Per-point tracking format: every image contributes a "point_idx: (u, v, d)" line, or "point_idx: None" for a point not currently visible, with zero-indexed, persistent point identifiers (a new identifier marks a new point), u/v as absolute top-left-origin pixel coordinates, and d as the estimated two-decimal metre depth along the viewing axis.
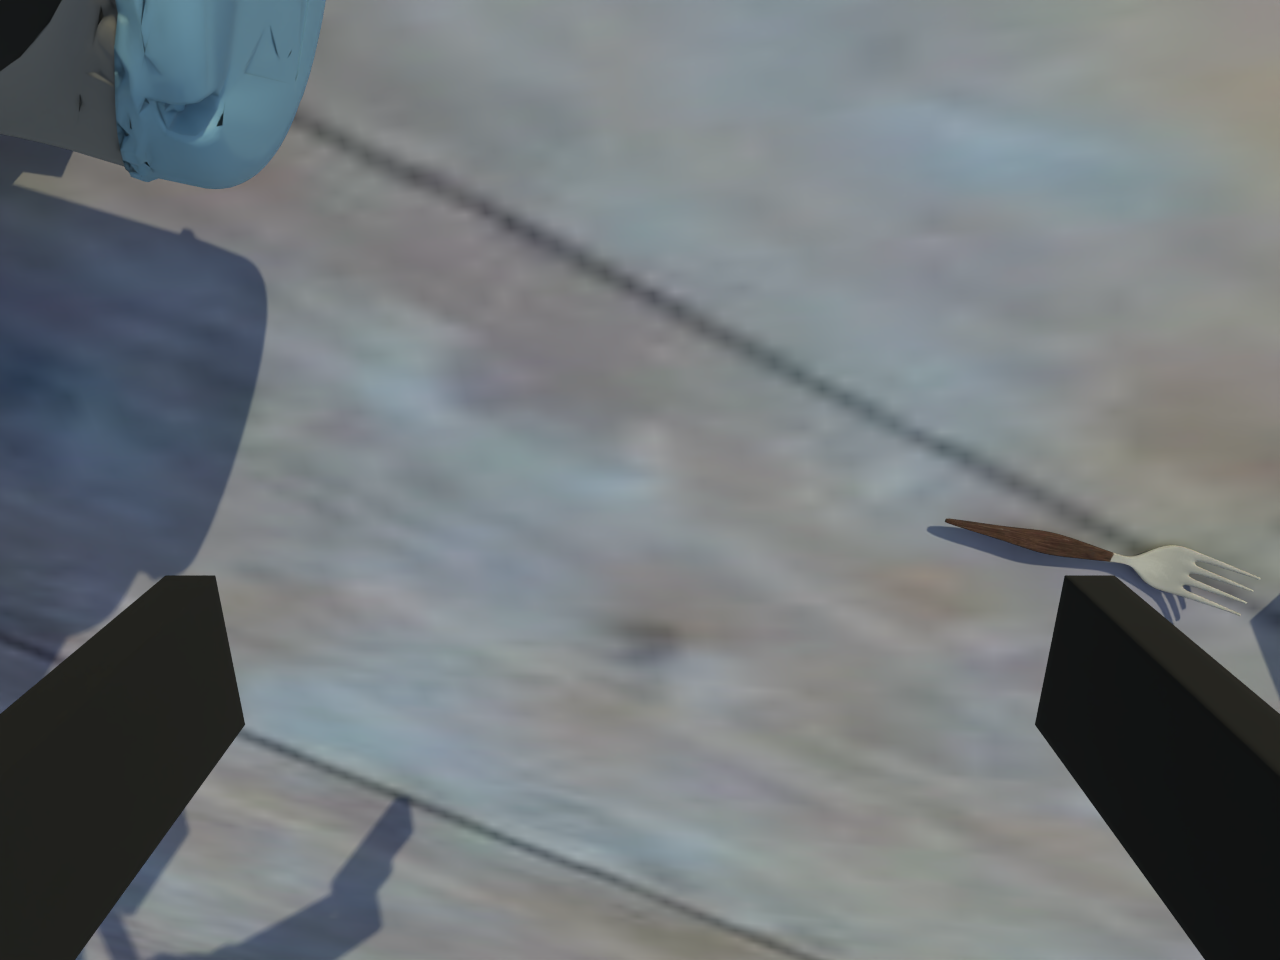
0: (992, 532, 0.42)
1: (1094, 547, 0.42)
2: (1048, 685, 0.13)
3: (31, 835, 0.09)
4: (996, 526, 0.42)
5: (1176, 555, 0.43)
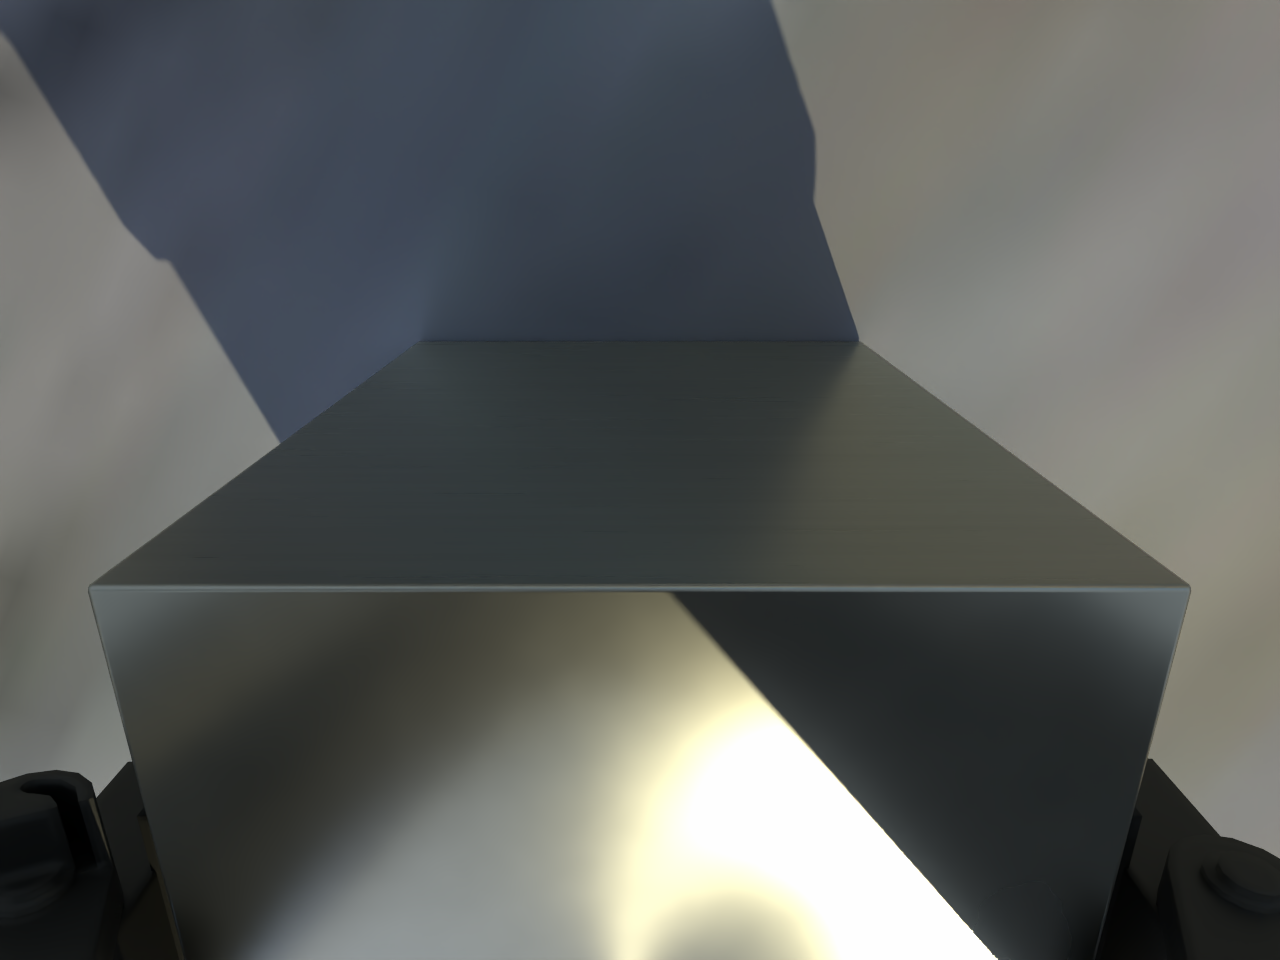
0: None
1: None
2: None
3: None
4: None
5: None
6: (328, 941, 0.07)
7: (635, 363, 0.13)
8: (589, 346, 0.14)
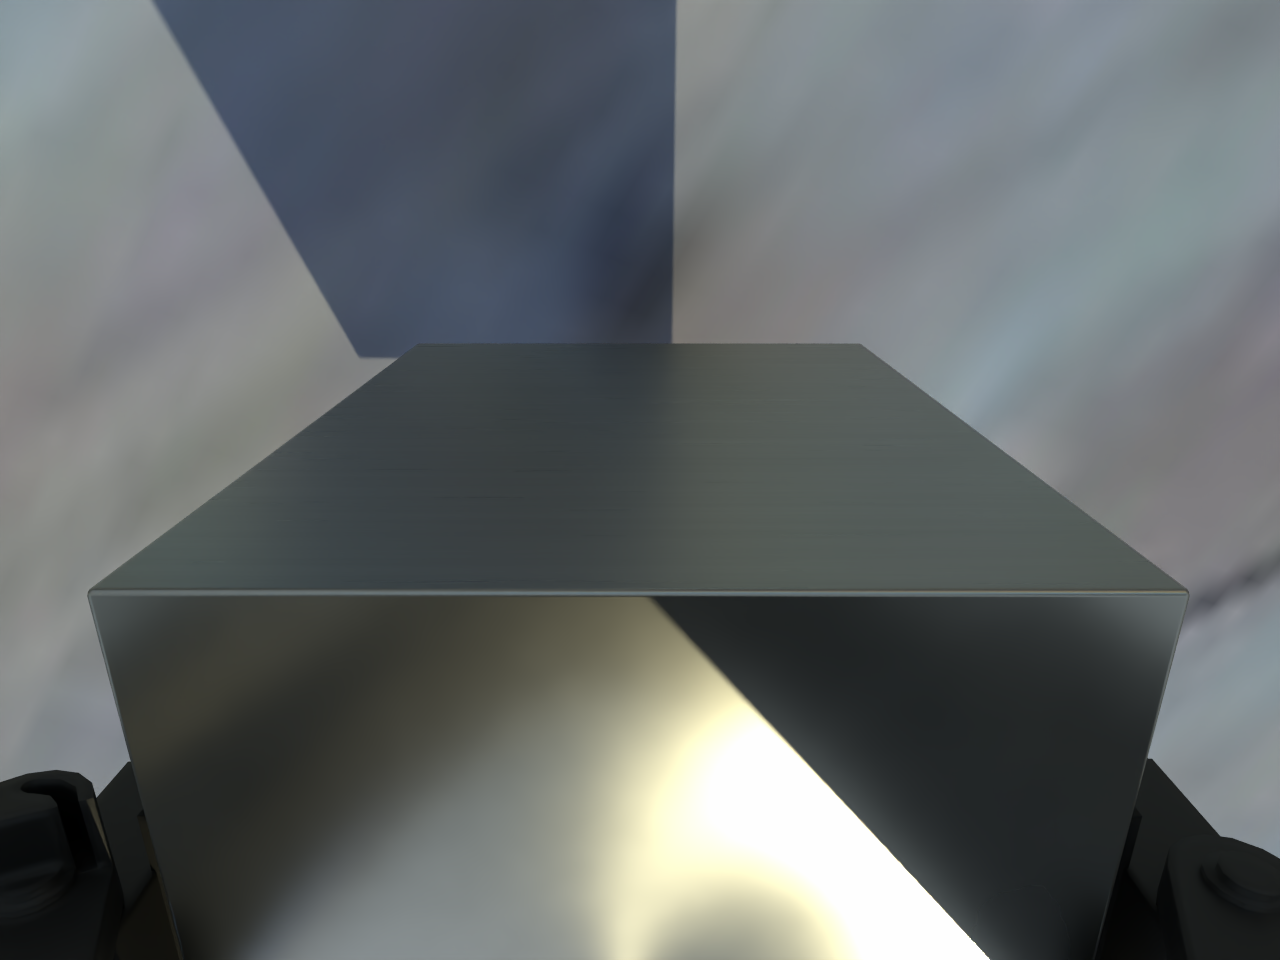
0: None
1: None
2: None
3: None
4: None
5: None
6: (327, 945, 0.07)
7: (634, 365, 0.13)
8: (589, 348, 0.14)
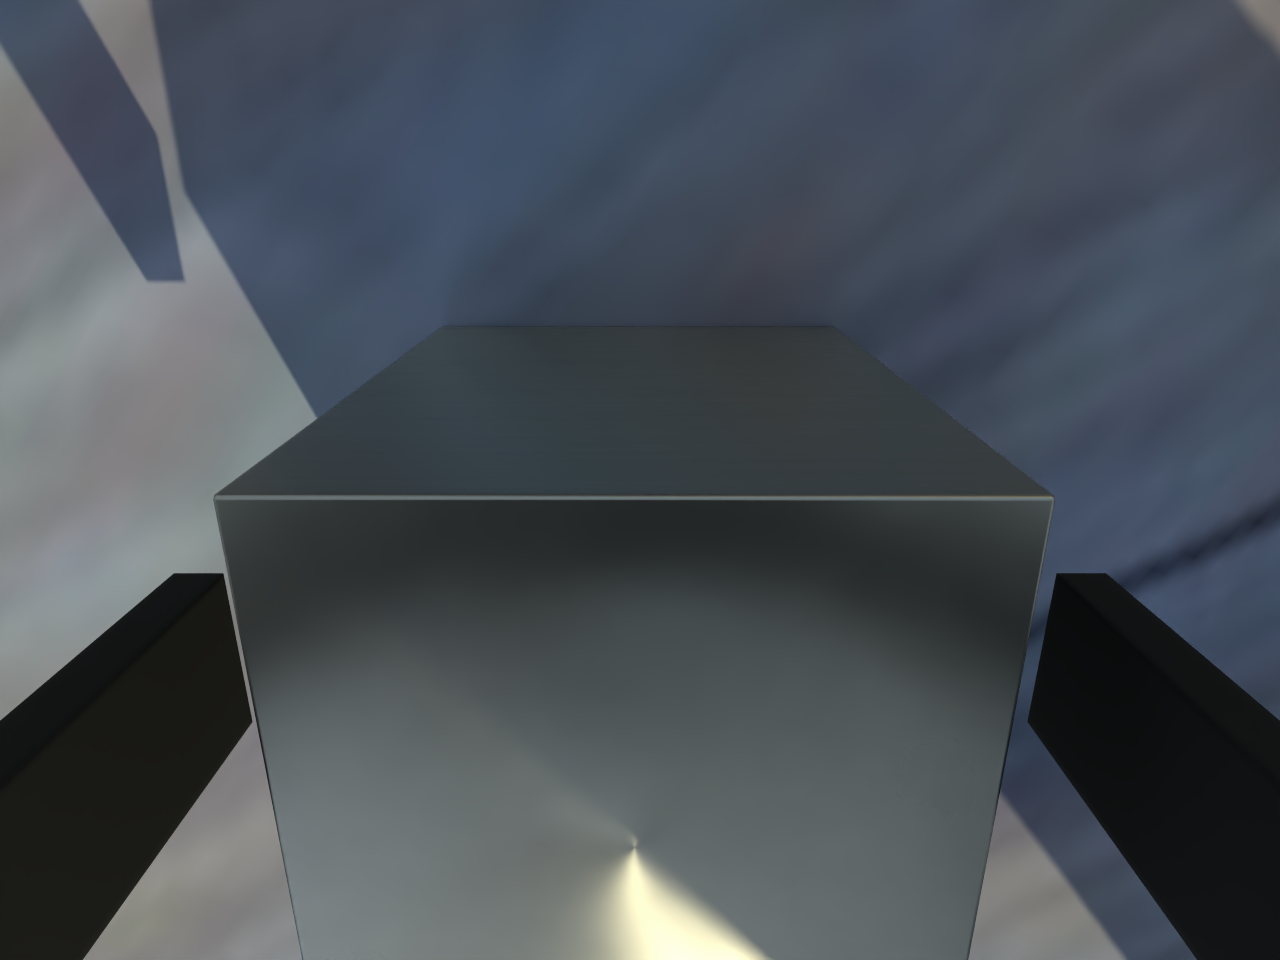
0: None
1: None
2: (1040, 683, 0.13)
3: (44, 830, 0.09)
4: None
5: None
6: (387, 789, 0.09)
7: (633, 344, 0.15)
8: (593, 330, 0.16)
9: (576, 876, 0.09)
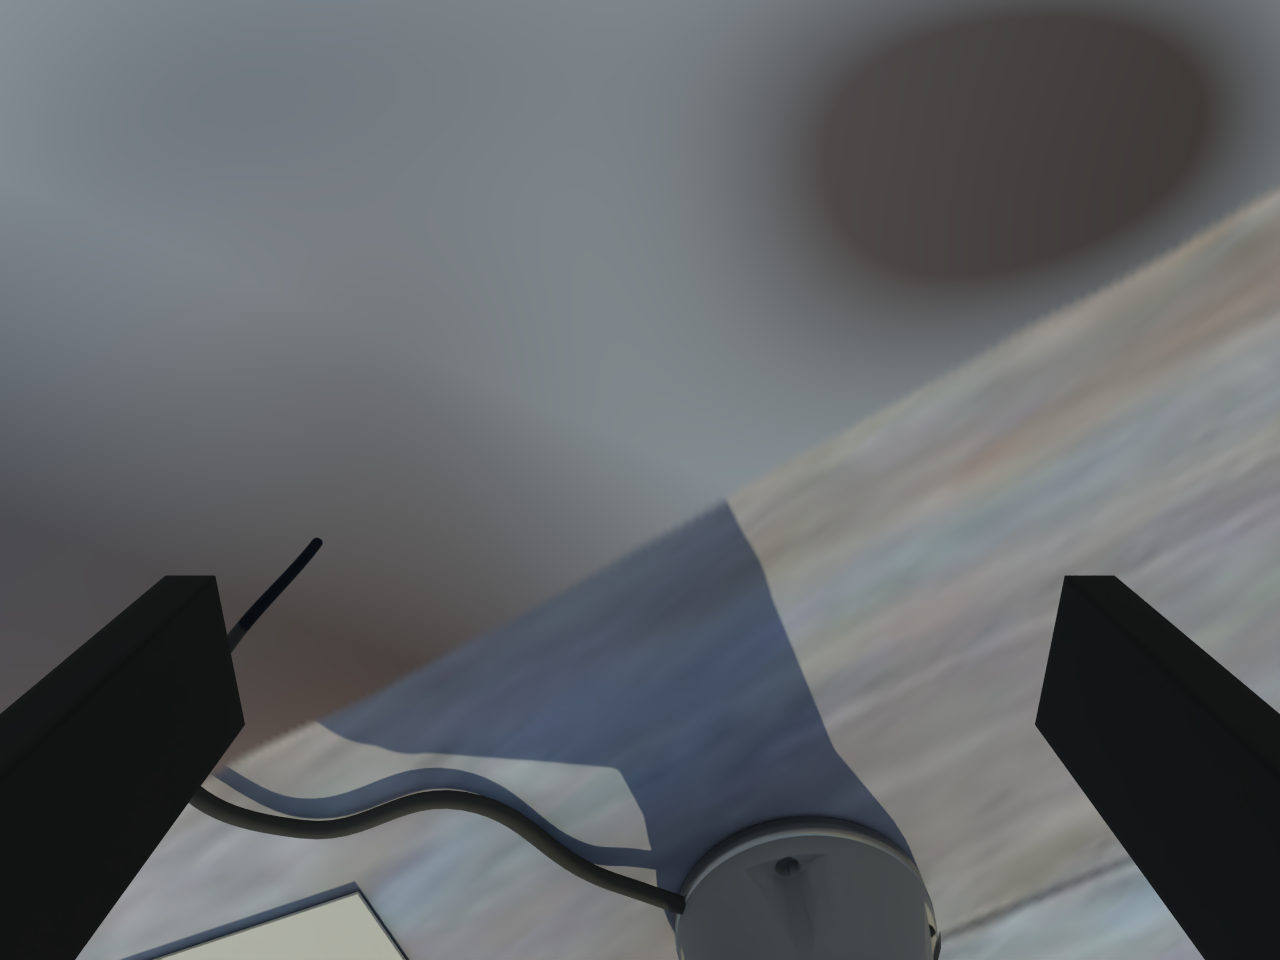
0: None
1: None
2: (1048, 685, 0.13)
3: (31, 835, 0.09)
4: None
5: None
6: None
7: None
8: None
9: None
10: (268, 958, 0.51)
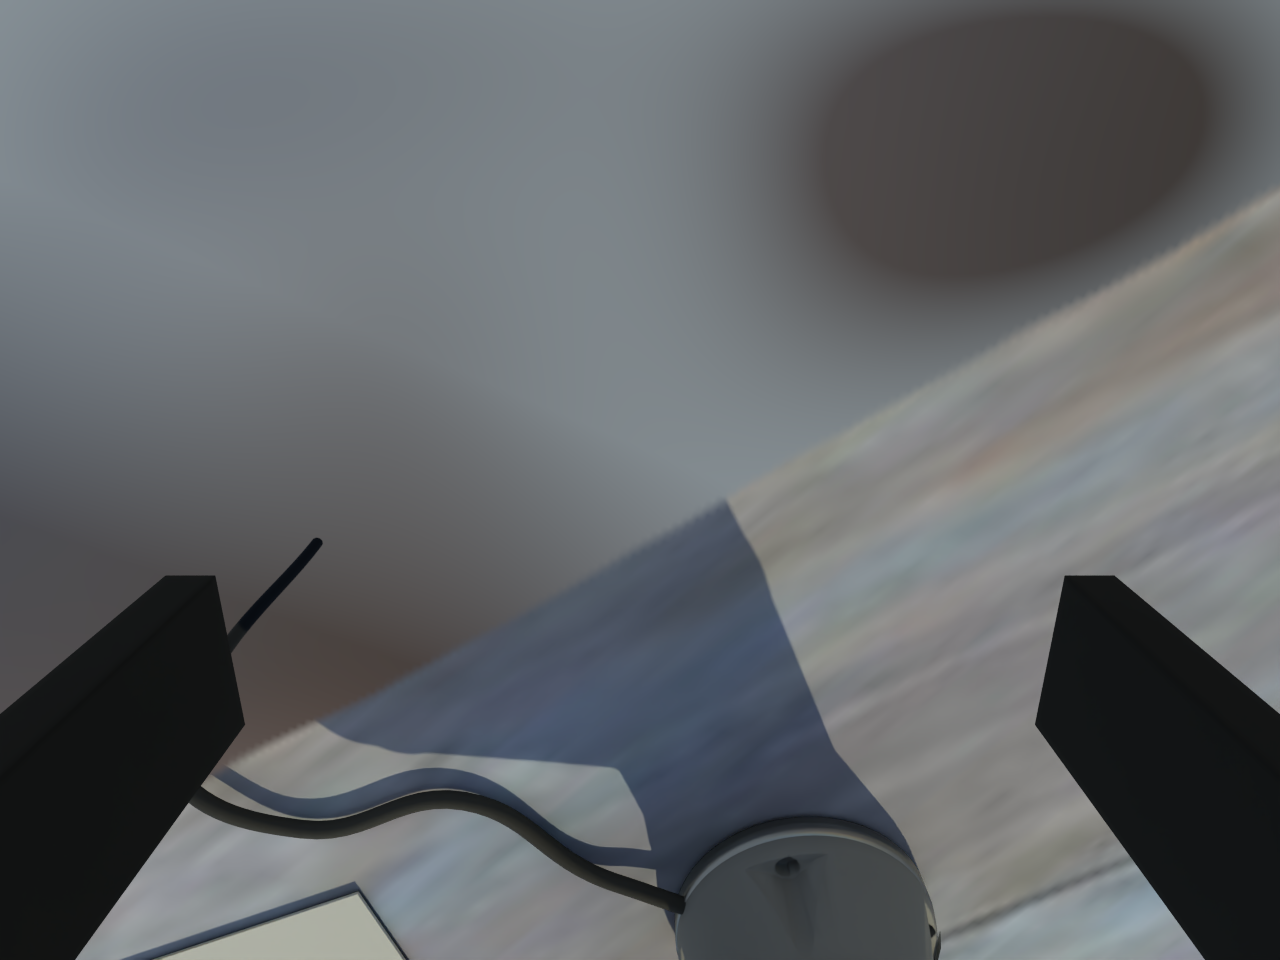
0: None
1: None
2: (1048, 685, 0.13)
3: (31, 835, 0.09)
4: None
5: None
6: None
7: None
8: None
9: None
10: (268, 958, 0.51)
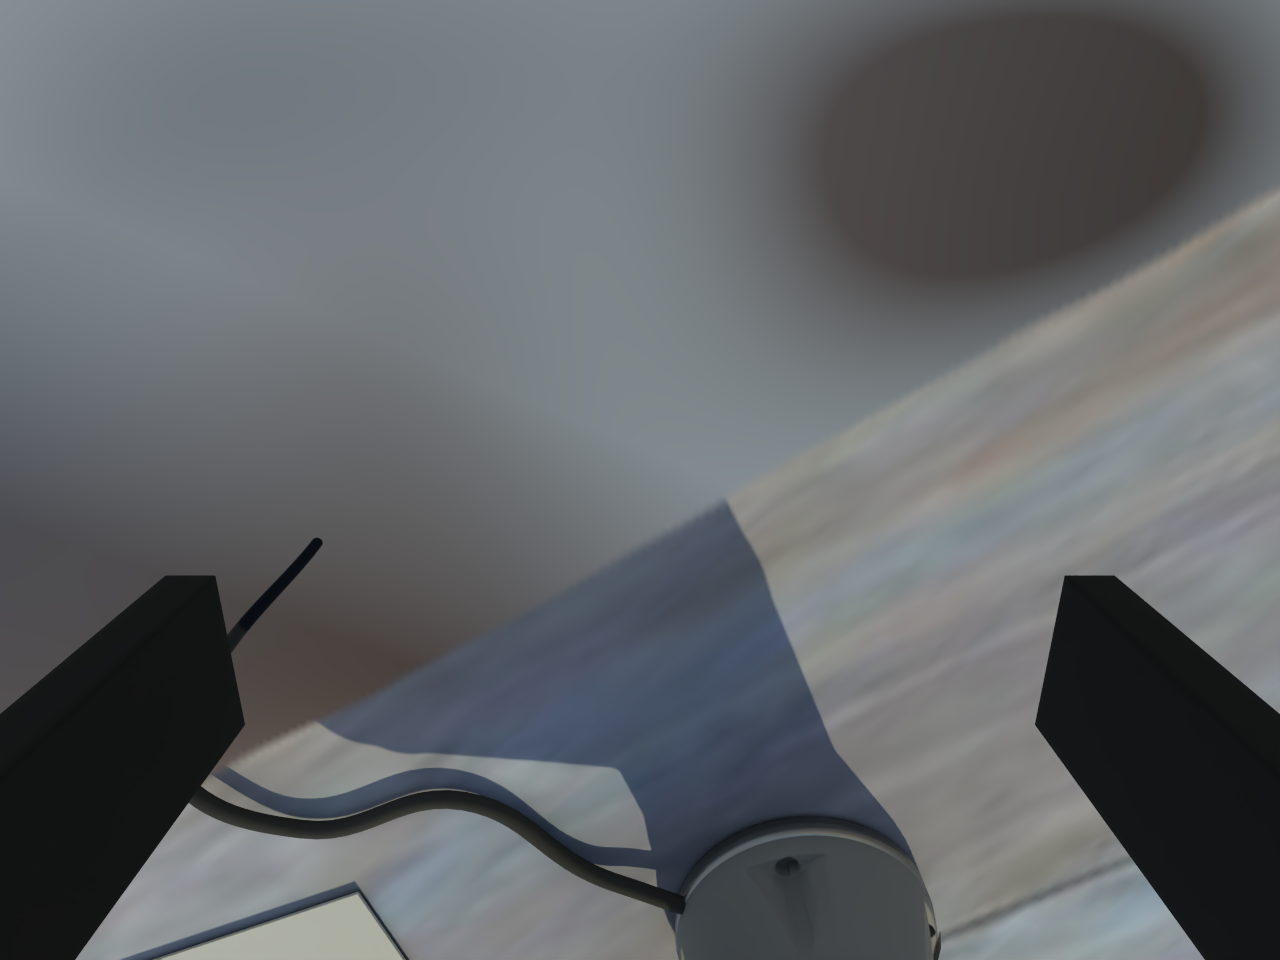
0: None
1: None
2: (1048, 685, 0.13)
3: (31, 835, 0.09)
4: None
5: None
6: None
7: None
8: None
9: None
10: (268, 958, 0.51)
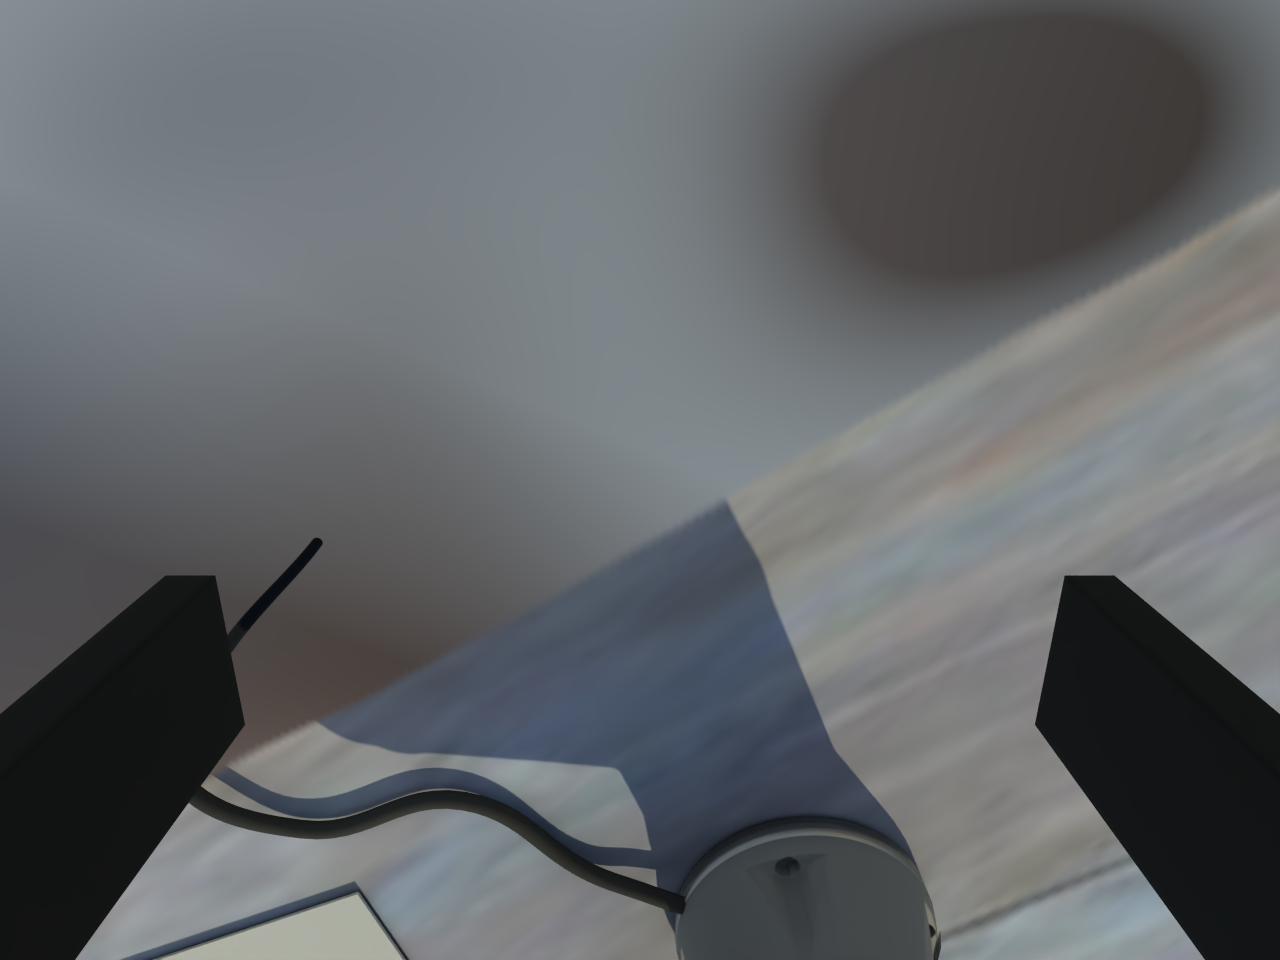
0: None
1: None
2: (1048, 685, 0.13)
3: (31, 835, 0.09)
4: None
5: None
6: None
7: None
8: None
9: None
10: (268, 958, 0.51)
